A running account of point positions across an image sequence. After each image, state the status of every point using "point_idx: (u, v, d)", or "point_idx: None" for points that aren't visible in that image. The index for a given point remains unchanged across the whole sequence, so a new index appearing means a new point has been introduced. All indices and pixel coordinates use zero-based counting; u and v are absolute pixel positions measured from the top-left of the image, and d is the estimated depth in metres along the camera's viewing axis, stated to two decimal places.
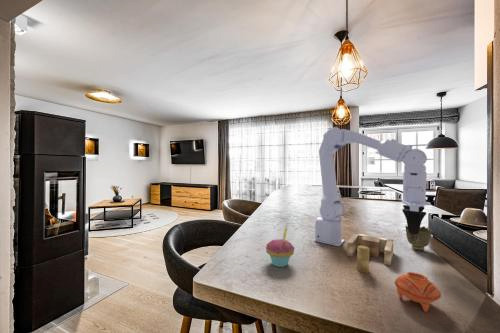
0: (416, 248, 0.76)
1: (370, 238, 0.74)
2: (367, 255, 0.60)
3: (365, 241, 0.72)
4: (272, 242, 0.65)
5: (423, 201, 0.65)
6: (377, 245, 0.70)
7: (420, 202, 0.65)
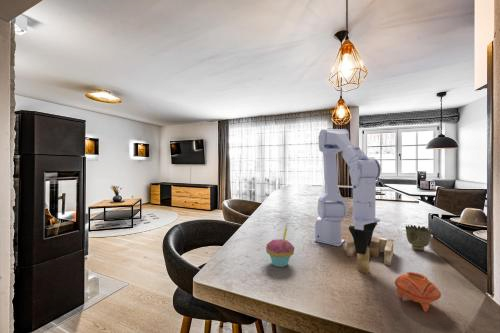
0: (416, 248, 0.76)
1: None
2: (367, 255, 0.60)
3: None
4: (272, 242, 0.65)
5: (372, 217, 0.59)
6: (377, 245, 0.70)
7: (368, 219, 0.59)
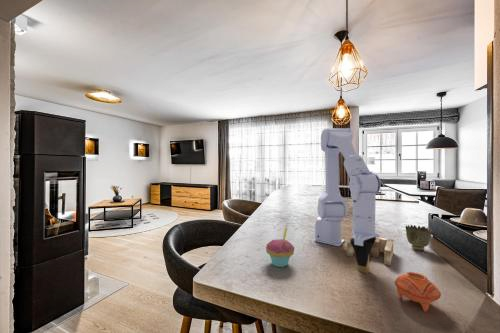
0: (416, 248, 0.76)
1: None
2: None
3: None
4: (272, 242, 0.65)
5: (371, 232, 0.59)
6: (377, 245, 0.70)
7: (368, 234, 0.59)
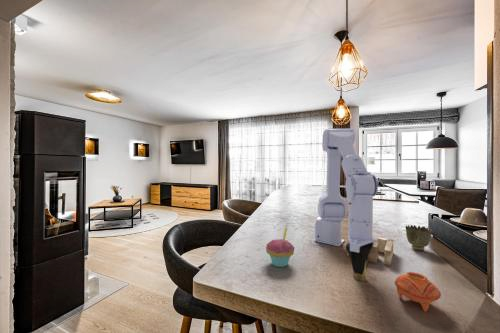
0: (416, 248, 0.76)
1: None
2: None
3: None
4: (272, 242, 0.65)
5: (368, 237, 0.55)
6: (375, 250, 0.66)
7: (365, 239, 0.54)
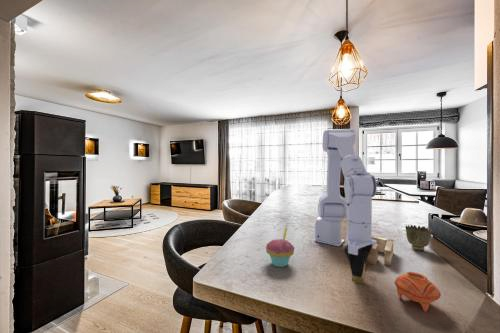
0: (416, 248, 0.76)
1: None
2: None
3: None
4: (272, 242, 0.65)
5: (367, 239, 0.53)
6: (374, 252, 0.65)
7: (363, 241, 0.53)
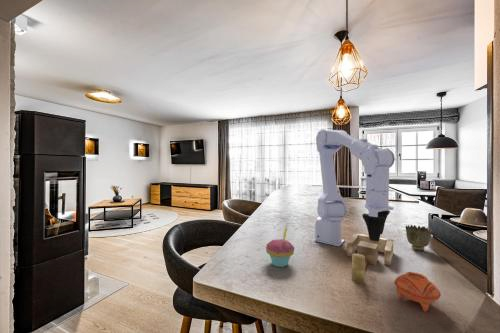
0: (416, 248, 0.76)
1: (366, 244, 0.68)
2: (363, 264, 0.55)
3: (361, 247, 0.67)
4: (272, 242, 0.65)
5: (385, 205, 0.60)
6: (374, 252, 0.65)
7: (382, 206, 0.59)
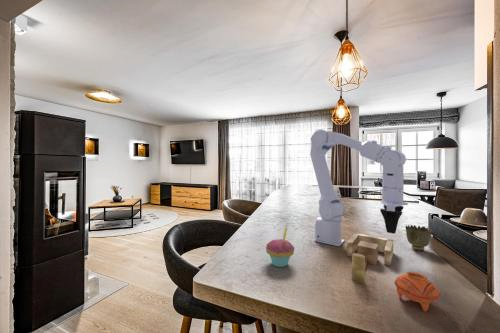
0: (416, 248, 0.76)
1: (366, 244, 0.68)
2: (363, 264, 0.55)
3: (361, 247, 0.67)
4: (272, 242, 0.65)
5: (400, 201, 0.66)
6: (374, 252, 0.65)
7: (397, 202, 0.66)
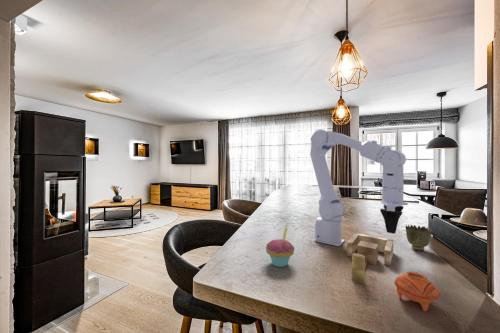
0: (416, 248, 0.76)
1: (366, 244, 0.68)
2: (363, 264, 0.55)
3: (361, 247, 0.67)
4: (272, 242, 0.65)
5: (400, 201, 0.66)
6: (374, 252, 0.65)
7: (397, 202, 0.66)
